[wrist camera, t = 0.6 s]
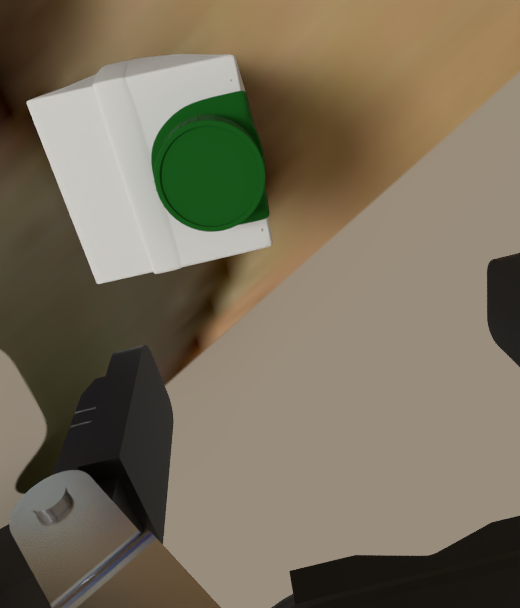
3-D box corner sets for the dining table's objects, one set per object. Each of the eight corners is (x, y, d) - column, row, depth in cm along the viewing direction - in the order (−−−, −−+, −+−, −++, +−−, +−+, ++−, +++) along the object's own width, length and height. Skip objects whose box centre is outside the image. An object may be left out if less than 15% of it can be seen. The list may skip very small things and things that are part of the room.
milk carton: (253, 173, 37) (295, 275, 19) (137, 199, 37) (73, 324, 19) (227, 46, 33) (250, 25, 15) (98, 75, 33) (-29, 88, 15)
